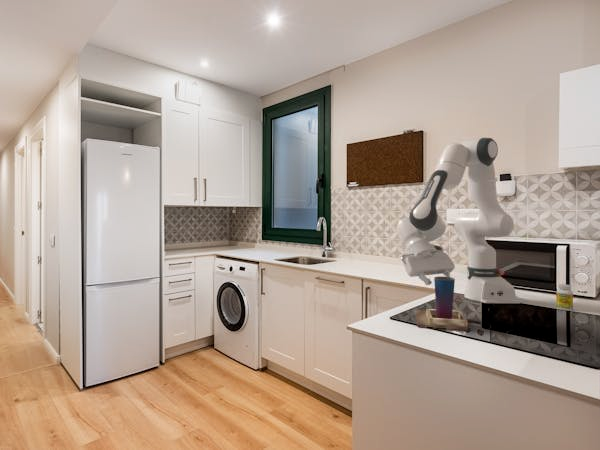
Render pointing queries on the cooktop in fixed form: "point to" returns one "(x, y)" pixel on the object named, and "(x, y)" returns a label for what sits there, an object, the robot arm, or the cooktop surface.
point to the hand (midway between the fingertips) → (439, 282)
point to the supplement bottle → (564, 297)
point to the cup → (444, 296)
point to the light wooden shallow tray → (440, 320)
